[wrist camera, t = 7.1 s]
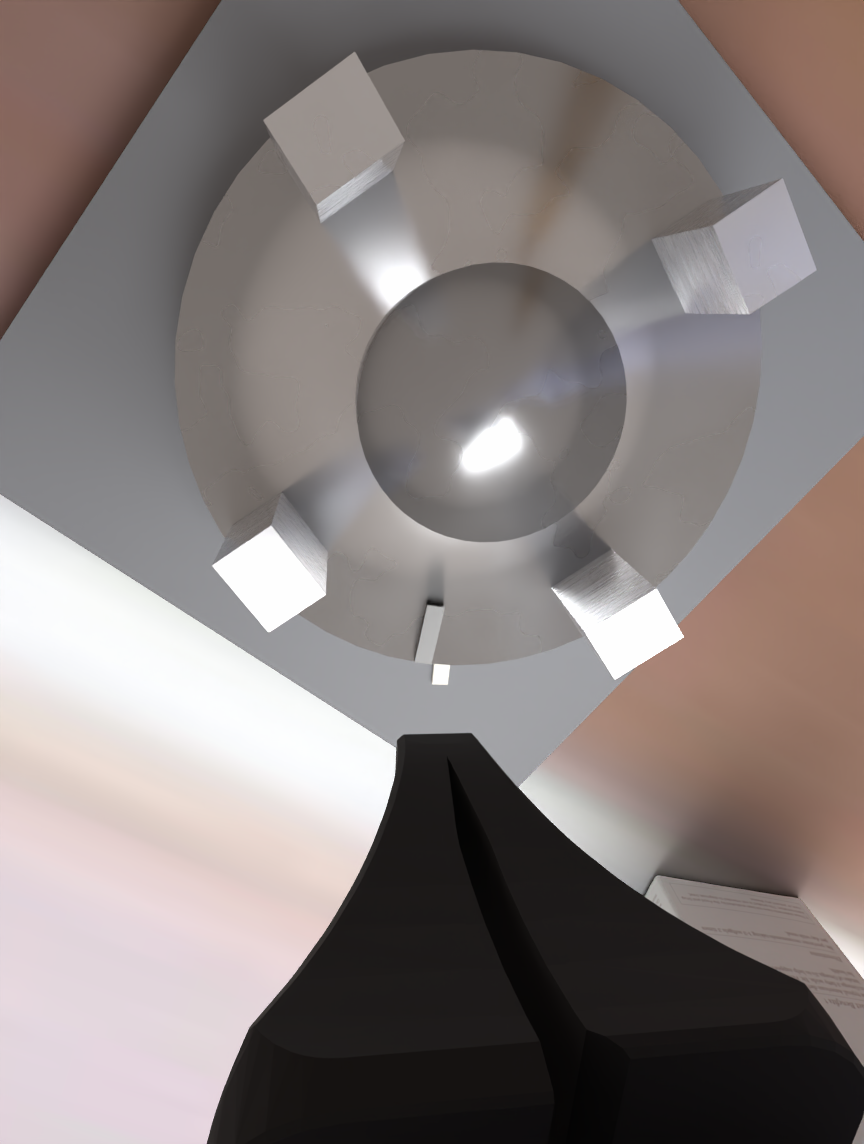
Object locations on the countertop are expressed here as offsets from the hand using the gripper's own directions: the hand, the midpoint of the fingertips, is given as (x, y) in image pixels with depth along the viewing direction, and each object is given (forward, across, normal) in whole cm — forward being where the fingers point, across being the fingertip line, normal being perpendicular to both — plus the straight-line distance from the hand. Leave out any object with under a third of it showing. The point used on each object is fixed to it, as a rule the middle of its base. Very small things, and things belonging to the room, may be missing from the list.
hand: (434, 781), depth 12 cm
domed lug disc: (+9, -2, -6) cm, 11 cm away
